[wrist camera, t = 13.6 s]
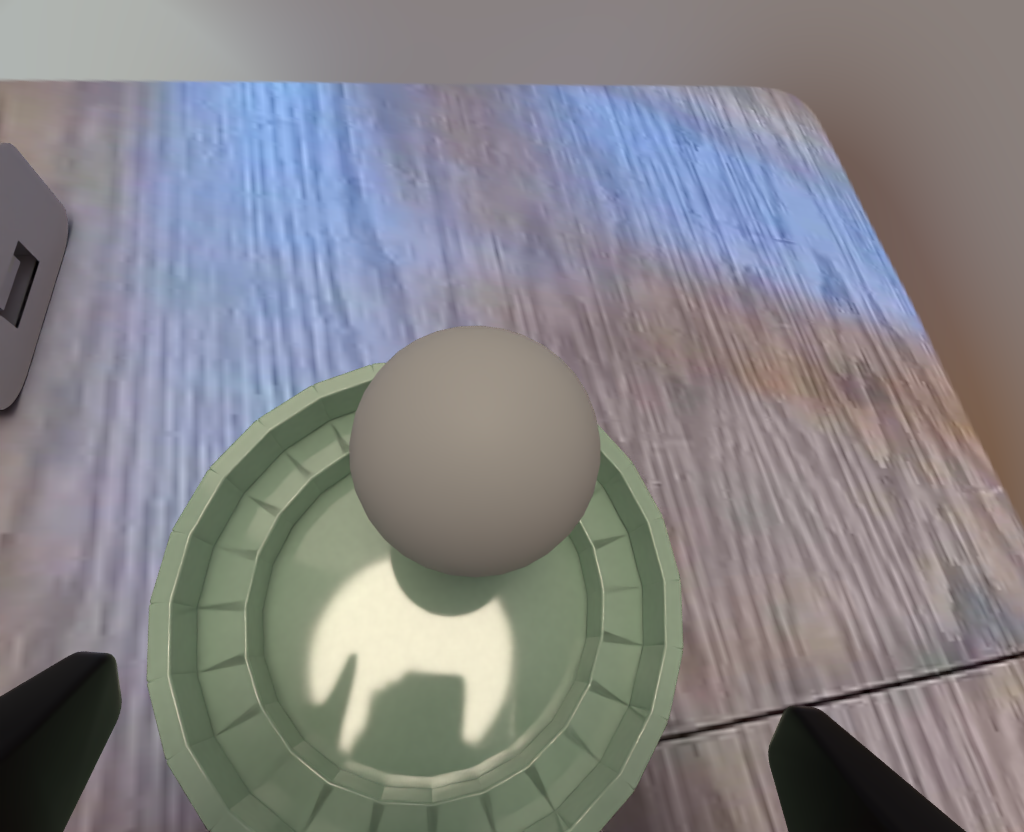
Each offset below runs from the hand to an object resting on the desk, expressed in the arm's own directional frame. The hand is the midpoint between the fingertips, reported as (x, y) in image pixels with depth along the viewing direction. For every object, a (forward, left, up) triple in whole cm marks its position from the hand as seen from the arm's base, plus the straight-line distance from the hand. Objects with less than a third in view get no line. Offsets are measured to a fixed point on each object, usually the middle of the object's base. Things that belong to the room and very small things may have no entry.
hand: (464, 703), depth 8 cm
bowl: (+2, 0, -13) cm, 14 cm away
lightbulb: (+5, -1, -13) cm, 14 cm away
